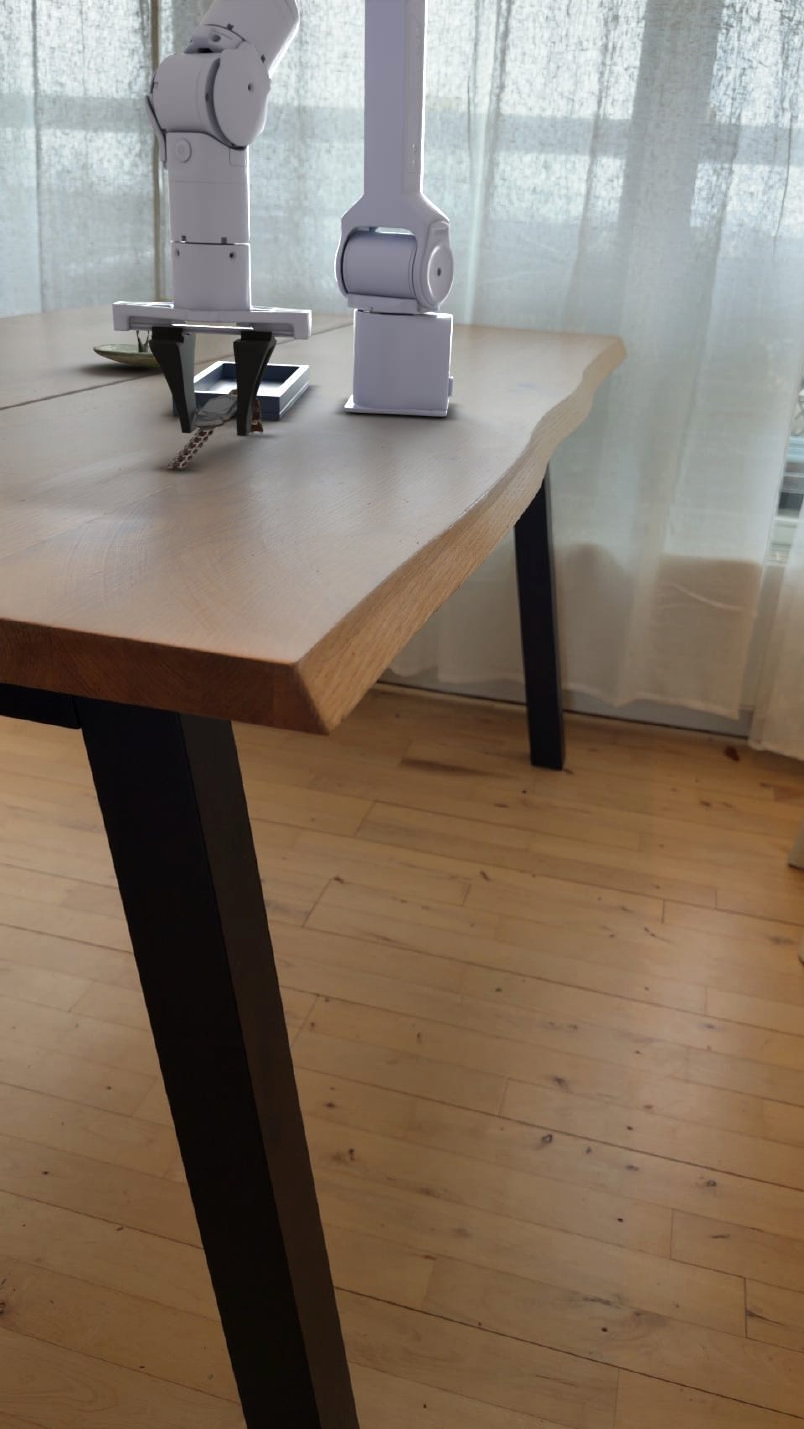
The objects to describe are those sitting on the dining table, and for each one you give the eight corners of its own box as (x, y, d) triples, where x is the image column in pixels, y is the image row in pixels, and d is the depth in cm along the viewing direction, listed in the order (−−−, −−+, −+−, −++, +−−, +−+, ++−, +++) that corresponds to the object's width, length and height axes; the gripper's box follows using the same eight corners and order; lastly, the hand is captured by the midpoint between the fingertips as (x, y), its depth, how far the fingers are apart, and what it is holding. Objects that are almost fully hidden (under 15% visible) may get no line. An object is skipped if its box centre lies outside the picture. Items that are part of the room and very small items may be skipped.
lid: (182, 393, 124) (198, 349, 123) (92, 357, 120) (107, 311, 119) (175, 380, 133) (190, 339, 132) (91, 346, 130) (105, 303, 128)
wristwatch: (278, 429, 95) (262, 372, 92) (211, 519, 84) (191, 458, 81) (239, 431, 96) (222, 375, 93) (168, 520, 86) (147, 460, 83)
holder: (218, 382, 120) (217, 361, 119) (309, 386, 119) (309, 365, 118) (172, 415, 102) (171, 391, 101) (279, 420, 101) (279, 396, 101)
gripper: (95, 240, 79) (108, 437, 85) (302, 249, 79) (301, 447, 85) (123, 237, 86) (134, 420, 92) (315, 245, 85) (314, 429, 91)
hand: (216, 432), depth 88 cm, fingers closed on wristwatch, 4 cm apart
